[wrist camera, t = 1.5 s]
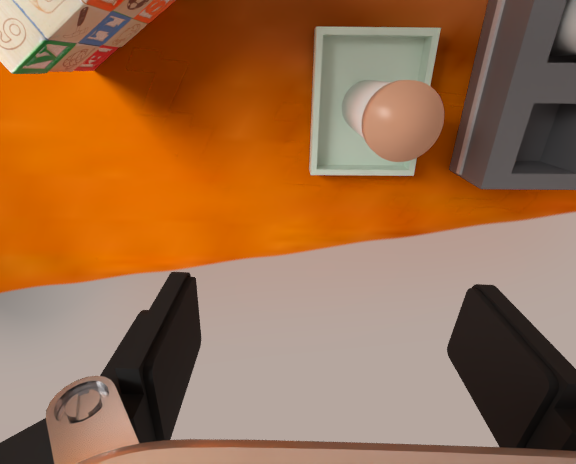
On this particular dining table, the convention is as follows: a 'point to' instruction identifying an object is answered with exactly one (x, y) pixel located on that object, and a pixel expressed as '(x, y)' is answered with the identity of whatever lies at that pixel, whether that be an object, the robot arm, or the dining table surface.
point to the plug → (395, 117)
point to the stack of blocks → (69, 32)
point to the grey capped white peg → (566, 32)
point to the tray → (350, 70)
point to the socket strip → (519, 103)
